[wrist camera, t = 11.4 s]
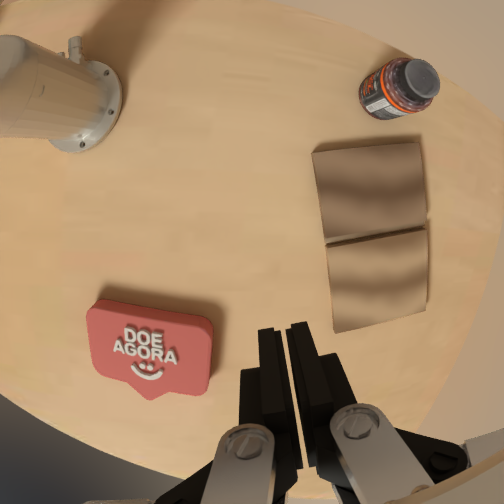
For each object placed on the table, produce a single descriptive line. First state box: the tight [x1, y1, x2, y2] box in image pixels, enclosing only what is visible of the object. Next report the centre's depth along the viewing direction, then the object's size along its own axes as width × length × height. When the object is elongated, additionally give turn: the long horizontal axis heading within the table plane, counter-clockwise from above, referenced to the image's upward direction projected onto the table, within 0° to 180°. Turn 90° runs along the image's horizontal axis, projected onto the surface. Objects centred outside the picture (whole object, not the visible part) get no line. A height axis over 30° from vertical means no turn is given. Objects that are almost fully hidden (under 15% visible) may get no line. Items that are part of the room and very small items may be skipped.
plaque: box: [86, 299, 214, 400], centre depth 40 cm, size 18×4×15 cm
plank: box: [325, 228, 428, 334], centre depth 37 cm, size 12×14×1 cm
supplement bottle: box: [359, 58, 440, 120], centre depth 26 cm, size 6×6×11 cm
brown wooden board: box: [311, 142, 427, 243], centre depth 34 cm, size 11×14×1 cm
